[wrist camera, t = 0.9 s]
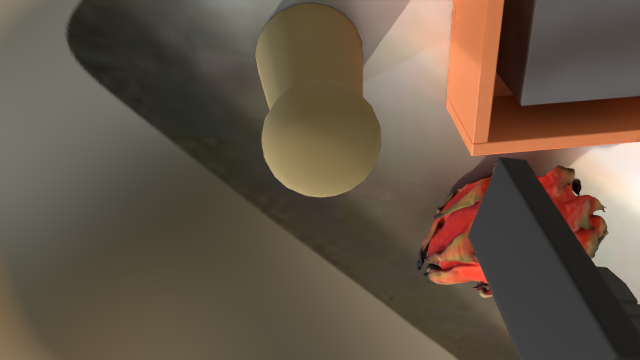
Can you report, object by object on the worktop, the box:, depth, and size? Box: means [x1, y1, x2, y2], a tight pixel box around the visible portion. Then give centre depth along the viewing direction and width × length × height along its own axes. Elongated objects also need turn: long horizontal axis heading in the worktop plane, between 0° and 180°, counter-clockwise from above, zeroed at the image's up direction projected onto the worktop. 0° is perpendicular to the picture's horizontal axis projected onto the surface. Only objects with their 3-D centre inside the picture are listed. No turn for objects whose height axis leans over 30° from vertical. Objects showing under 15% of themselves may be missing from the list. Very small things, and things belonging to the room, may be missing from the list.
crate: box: [446, 0, 640, 156], centre depth 31 cm, size 12×12×6 cm
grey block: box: [496, 0, 640, 106], centre depth 31 cm, size 7×7×4 cm
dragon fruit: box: [416, 162, 608, 297], centre depth 38 cm, size 8×8×12 cm
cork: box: [255, 3, 381, 197], centre depth 30 cm, size 6×6×11 cm
